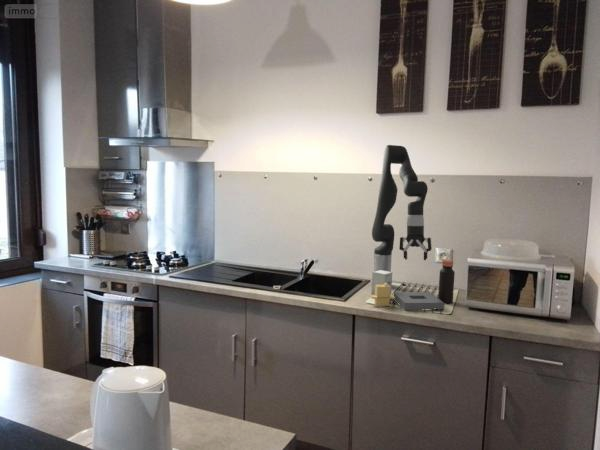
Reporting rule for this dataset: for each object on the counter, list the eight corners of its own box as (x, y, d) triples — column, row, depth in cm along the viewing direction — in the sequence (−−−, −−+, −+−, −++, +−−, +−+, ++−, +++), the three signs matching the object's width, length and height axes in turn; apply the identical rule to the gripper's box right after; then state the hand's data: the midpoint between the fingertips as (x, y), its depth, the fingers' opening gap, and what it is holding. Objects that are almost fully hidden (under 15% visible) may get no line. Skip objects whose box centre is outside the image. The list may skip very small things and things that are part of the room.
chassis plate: (393, 299, 228) (393, 292, 227) (429, 299, 229) (429, 292, 229) (404, 310, 210) (404, 302, 210) (443, 310, 212) (443, 302, 211)
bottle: (443, 304, 221) (445, 262, 218) (435, 300, 227) (437, 259, 225) (455, 303, 222) (458, 262, 220) (447, 299, 229) (450, 259, 227)
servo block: (369, 303, 220) (370, 282, 219) (392, 303, 221) (393, 282, 220) (371, 305, 216) (372, 284, 215) (394, 305, 217) (395, 284, 216)
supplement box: (383, 299, 226) (384, 274, 225) (370, 296, 231) (371, 271, 230) (391, 297, 232) (392, 271, 230) (378, 294, 237) (380, 269, 235)
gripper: (432, 224, 217) (432, 259, 218) (401, 224, 222) (401, 258, 223) (430, 225, 210) (430, 261, 211) (398, 225, 215) (398, 260, 216)
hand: (415, 259), depth 217 cm, fingers open, 8 cm apart
